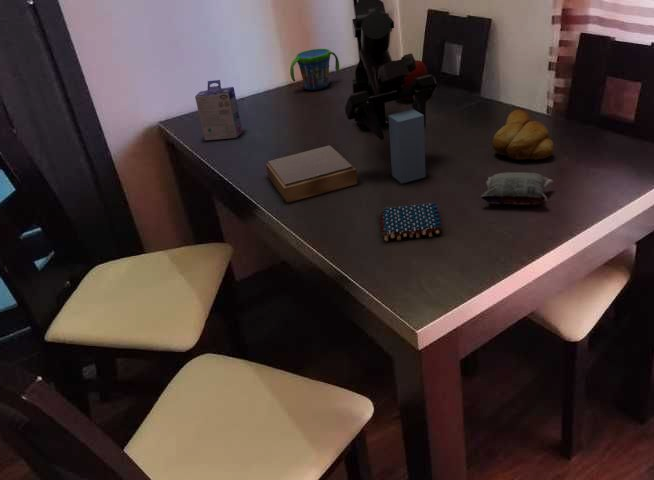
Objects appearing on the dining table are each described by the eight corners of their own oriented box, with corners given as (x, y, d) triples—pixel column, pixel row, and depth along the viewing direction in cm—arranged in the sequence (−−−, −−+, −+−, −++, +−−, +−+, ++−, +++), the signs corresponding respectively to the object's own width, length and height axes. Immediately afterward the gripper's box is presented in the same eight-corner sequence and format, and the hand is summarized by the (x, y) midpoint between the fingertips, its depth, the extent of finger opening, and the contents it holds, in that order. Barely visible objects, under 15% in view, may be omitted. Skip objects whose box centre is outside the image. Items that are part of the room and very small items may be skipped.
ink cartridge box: (243, 131, 174) (232, 77, 165) (238, 138, 170) (227, 83, 161) (210, 134, 176) (198, 81, 168) (204, 141, 172) (191, 87, 163)
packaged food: (487, 188, 123) (488, 164, 119) (552, 190, 118) (555, 165, 115) (479, 209, 117) (480, 184, 114) (547, 212, 112) (549, 186, 109)
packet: (415, 169, 135) (413, 108, 127) (425, 177, 131) (424, 115, 123) (392, 175, 134) (388, 115, 127) (401, 183, 131) (398, 121, 123)
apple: (392, 95, 178) (390, 58, 172) (426, 91, 176) (425, 53, 170) (392, 106, 170) (390, 68, 165) (428, 102, 169) (427, 63, 163)
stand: (333, 160, 147) (331, 143, 144) (357, 184, 134) (355, 166, 132) (268, 177, 145) (265, 161, 142) (286, 203, 132) (283, 185, 129)
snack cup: (336, 78, 201) (332, 44, 195) (345, 85, 193) (342, 50, 187) (289, 88, 200) (284, 55, 194) (297, 97, 192) (291, 62, 186)
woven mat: (380, 216, 120) (379, 206, 119) (436, 210, 119) (436, 200, 117) (382, 242, 112) (381, 232, 111) (442, 236, 110) (442, 226, 109)
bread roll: (563, 155, 129) (567, 116, 124) (527, 170, 126) (530, 131, 121) (517, 141, 139) (519, 104, 134) (483, 154, 136) (484, 117, 131)
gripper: (343, 52, 122) (369, 124, 120) (431, 31, 124) (458, 101, 122) (335, 85, 133) (358, 151, 131) (416, 65, 135) (440, 130, 133)
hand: (403, 133), depth 129 cm, fingers open, 9 cm apart
